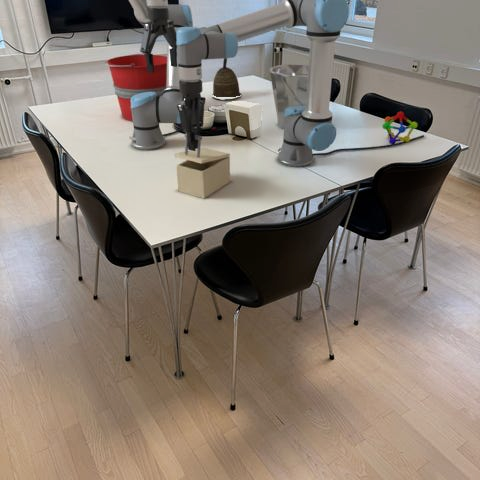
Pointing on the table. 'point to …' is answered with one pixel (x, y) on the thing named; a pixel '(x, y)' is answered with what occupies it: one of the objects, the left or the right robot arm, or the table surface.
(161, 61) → the bucket
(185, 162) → the chest
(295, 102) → the bucket
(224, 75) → the bell
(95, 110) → the table surface
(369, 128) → the table surface
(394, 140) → the educational toy
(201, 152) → the lid
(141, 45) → the left robot arm
